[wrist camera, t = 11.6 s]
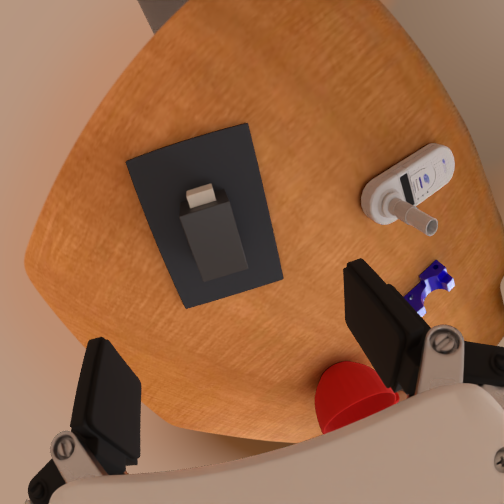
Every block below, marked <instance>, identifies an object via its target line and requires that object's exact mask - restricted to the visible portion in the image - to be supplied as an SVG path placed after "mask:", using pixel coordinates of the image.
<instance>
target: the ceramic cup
mask: <svg viewBox="0 0 504 504" xmlns="http://www.w3.org/2000/svg"><path fill="white" fill-rule="evenodd" d="M399 400H400V397H399V394H398V393H397V392H396V393H394V392H393V390H392V389H391V387H390V388H386V386H385V385H384V383H383V382H382V380H381V379H380V377H379V375H378V374H377V372H376V371H375V370H373V369H372V368H370V367H368V366H366V365H364V364H360V363H356V362H351V361H343V362H339V363H337V364H335V365H333V366H331V367H330V368H328V369H327V370H326V371H325V372H324V373H323V375H322V376H321V379H320V382H319V384H318V386H317V389H316V394H315V409H316V415H317V419H318V422H319V425H320V428H321V431H322V433H323V434H326V433H329V432H331V431H334V430H337V429H339V428H342V427H344V426H347V425H349V424H351V423H354V422H356V421H359V420H361V419H363V418H366V417H368V416H370V415H373V414H375V413H377V412H379V411H382V410H384V409H386V408H388V407H390V406H392V405H394V404H396V403H398V402H399Z"/></svg>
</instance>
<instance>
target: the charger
mask: <svg viewBox="0 0 504 504" xmlns="http://www.w3.org/2000/svg"><path fill="white" fill-rule="evenodd" d="M186 197H187V201H184V202H181V203H180V212H179V218H180V221H181V224H182V227H183V229H184V232H185V235H186V238H187V240H188V243H189V246H190V248H191V251H192V254H193V256H194V259H195V262H196V264H197V267H198V269H199V272H200V274H201V277H202V280H203V282H206V281H209V280H212V279H216V278H219V277H222V276H225V275H229V274H232V273H235V272H238V271H242V270H245V269H248V265H247V261H246V258H245V254H244V251H243V247H242V244H241V240H240V237H239V233H238V230H237V226H236V222H235V219H234V215H233V212H232V208H231V205H230V201H229V199H228V197H227V194H226V192H225V190H224V189H222V190H219V191H215V192H214V191H213V187H212V184H207V185H204V186H201V187H198V188H194V189H191V190H188V191H187V193H186Z"/></svg>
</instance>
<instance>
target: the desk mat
mask: <svg viewBox="0 0 504 504" xmlns="http://www.w3.org/2000/svg"><path fill="white" fill-rule="evenodd" d="M126 165H127V168H128V170H129V173H130V176H131V179H132V182H133V184H134V187H135V190H136V192H137V195H138V198H139V200H140V203H141V206H142V208H143V211H144V213H145V216H146V219H147V221H148V224H149V226H150V229H151V231H152V234H153V236H154V238H155V241H156V243H157V246H158V248H159V250H160V253H161V255H162V257H163V260H164V262H165V264H166V267H167V269H168V271H169V273H170V276H171V278H172V280H173V282H174V285H175V287H176V289H177V291H178V293H179V296H180V298H181V300H182V302H183V304H184V306H185V308H186V309H188V308H191V307H194V306H198V305H201V304H205V303H208V302H211V301H215V300H218V299H221V298H225V297H228V296H231V295H234V294H238V293H241V292H244V291H247V290H251V289H254V288H257V287H260V286H263V285H266V284H270V283H273V282H276V281H279V280H282V279H283V274H282V269H281V265H280V260H279V255H278V251H277V246H276V242H275V237H274V233H273V228H272V224H271V219H270V215H269V210H268V206H267V202H266V197H265V193H264V189H263V184H262V180H261V176H260V172H259V167H258V163H257V159H256V155H255V151H254V146H253V142H252V138H251V134H250V130H249V126H248V123H245V124H241V125H237V126H233V127H229V128H225V129H222V130H218V131H215V132H211V133H208V134H204V135H201V136H197V137H194V138H191V139H188V140H184V141H181V142H178V143H175V144H172V145H169V146H166V147H163V148H160V149H157V150H155V151H152V152H149V153H146V154H143V155H141V156H138V157H135V158H133V159H130V160H128V161H126ZM207 184H212V187H213V191H214V192H215V191H219V190H222V189H224V190H225V192H226V194H227V197H228V199H229V201H230V205H231V208H232V212H233V215H234V219H235V222H236V226H237V230H238V233H239V237H240V240H241V244H242V247H243V251H244V254H245V258H246V261H247V265H248V269H245V270H242V271H238V272H235V273H232V274H229V275H225V276H222V277H219V278H216V279H212V280H209V281H206V282H203V280H202V277H201V274H200V272H199V269H198V267H197V264H196V262H195V259H194V256H193V254H192V251H191V248H190V246H189V243H188V240H187V238H186V235H185V232H184V229H183V227H182V224H181V221H180V218H179V212H180V203H181V202H184V201H187V197H186V193H187V191H188V190H191V189H194V188H198V187H201V186H204V185H207Z"/></svg>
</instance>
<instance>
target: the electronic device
mask: <svg viewBox="0 0 504 504" xmlns="http://www.w3.org/2000/svg"><path fill="white" fill-rule="evenodd" d="M454 166H455V162H454V157H453V154H452V152H451V150H450V149H449V148H448V147H446V146H443V145H440V144H436V143H431V144H428V145H426V146H425V147H423V148H422V149H420V150H418V151H417V152H415V153H414V154H412V155H410V156H409V157H407V158H406V159H404V160H402V161H401V162H399V163H398V164H396V165H394V166H393V167H391V168H389V169H388V170H386V171H385V172H383V173H382V174H380V175H378V176H377V177H375V178H374V179H372V180H371V181H370V182H369V183H367V185H366V186H365V188H364V190H363V193H362V196H361V206H362V209H363V211H364V213H365V214H366V215H367V217H369V218H370V219H372V220H373V221H375V222H376V223H379V224H381V225H384V224H390V223H392V222H394V221H396V220H397V219H400V220H401V221H403V222H405V223H406V224H408V225H412V226H414V227H415V228H417V229H418V230H420V231H422V232H423V233H425V234H426V235H428V236H432V235H433V234H434V233H435V232H436V230H437V228H438V221H437V220H436V219H435V218H433V217H431V216H429V215H428V214H426V213H424V212H422V211H420V210H418V208H417V207H415V206H417V205H418V204H420V203H421V202H422V201H424V200H425V199H426V198H428V197H429V196H431V195H432V194H433V193H435V192H436V191H437V190H439V189H440V188H441V187H443V186H444V185H445V184H447V183H448V182H449V181H450V179H451V177H452V175H453V172H454Z"/></svg>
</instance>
